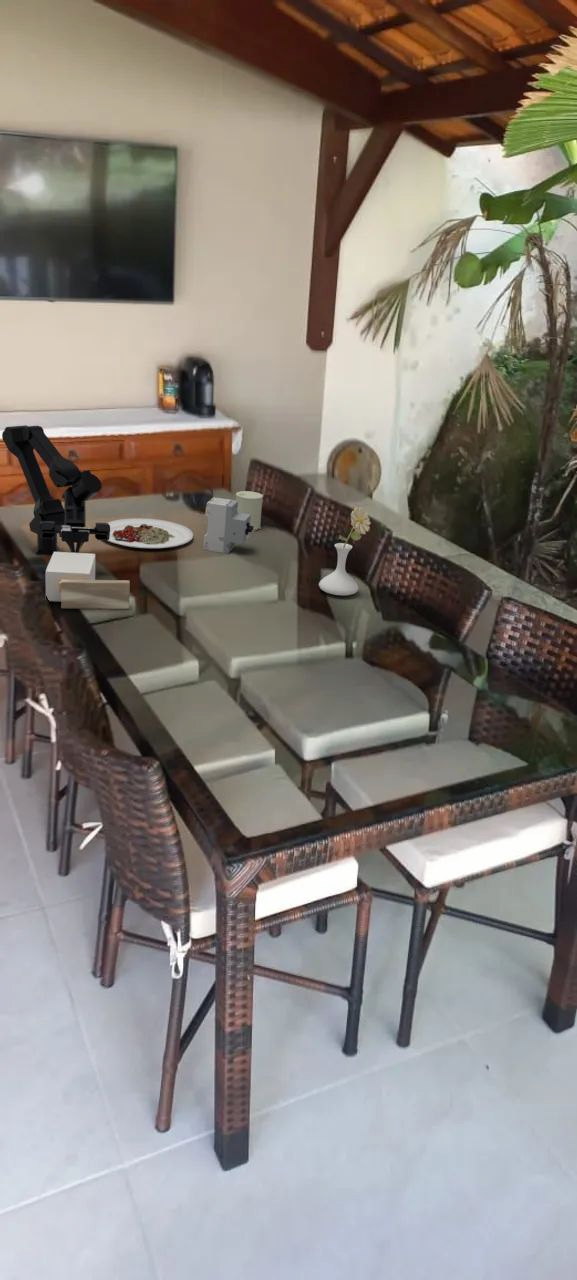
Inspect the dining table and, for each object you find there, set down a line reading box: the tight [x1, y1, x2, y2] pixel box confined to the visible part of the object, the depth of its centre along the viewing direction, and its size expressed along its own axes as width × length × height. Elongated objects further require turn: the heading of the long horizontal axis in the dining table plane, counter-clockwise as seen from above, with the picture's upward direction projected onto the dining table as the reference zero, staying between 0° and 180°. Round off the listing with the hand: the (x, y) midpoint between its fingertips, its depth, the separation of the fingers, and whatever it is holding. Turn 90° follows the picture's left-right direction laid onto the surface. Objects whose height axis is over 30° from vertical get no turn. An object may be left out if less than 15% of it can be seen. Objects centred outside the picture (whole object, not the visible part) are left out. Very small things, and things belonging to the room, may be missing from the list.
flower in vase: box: [318, 506, 371, 596], centre depth 259 cm, size 13×11×25 cm
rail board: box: [60, 579, 131, 610], centre depth 235 cm, size 3×17×7 cm, turn 102°
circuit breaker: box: [202, 497, 254, 554], centre depth 287 cm, size 8×14×15 cm, turn 78°
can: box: [235, 490, 264, 529], centre depth 311 cm, size 9×9×12 cm
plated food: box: [106, 517, 194, 550], centre depth 293 cm, size 30×30×3 cm
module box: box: [45, 551, 96, 602], centre depth 244 cm, size 16×11×8 cm
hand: (75, 559), depth 250 cm, fingers closed, pressing on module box
